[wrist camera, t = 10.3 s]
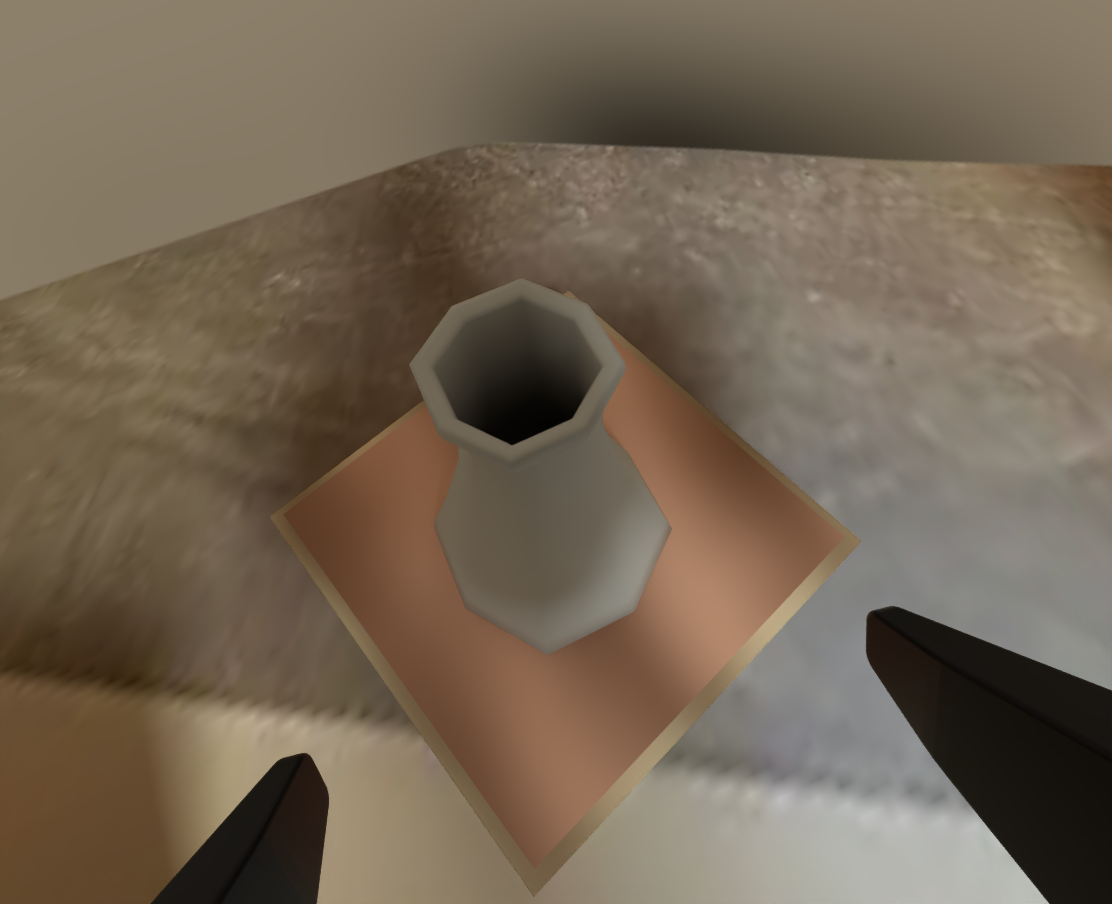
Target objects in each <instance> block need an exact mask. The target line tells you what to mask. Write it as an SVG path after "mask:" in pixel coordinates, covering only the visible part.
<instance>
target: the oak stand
mask: <svg viewBox="0 0 1112 904" xmlns="http://www.w3.org/2000/svg"><path fill="white" fill-rule="evenodd" d="M564 295H566V296H569V297H571V298H574V299H576V300H579V299H578V298H577V297H575V296H574V295H573V294H572V293H571V292H570V291H567V292H566V293H564ZM579 301H580V300H579ZM594 314H595V313H594ZM595 315H596V314H595ZM596 317H597V319H598V320H599V322H600V323H601V325H602V327H603V328H604V330H605V331H606V333H607V335H608V336H609V338H610V340H611V341H612V343H613V344H614V346H615V348H616V349H617V351H618V352H619V354H620V356H621V357H622V359H623V360H624V362H625V373H624V375H623V376H622V378H621V380H620V382H619V384H618V385H617V387H616V389H615V391H614V393H613V394H612V396H611V398H610V400H609V402H608V404H607V405H606V407H605V409H604V411H603V425H604V428H605V431H606V432H607V433H608V434H609V436H610V437H612V438H613V439H614V440H615V441H616V442H617V443H618V444H619V445H621V446H622V447H623V448H624V449H625V450H626V451H627V452H628V454H629V455H630V457H631V458H632V460H633V462H634V463H635V465H636V467H637V469H638V470H639V472H640V474H641V476H642V477H643V479H644V481H645V483H646V484H647V486H648V488H649V490H650V491H651V493H652V495H653V496H654V498H655V500H656V502H657V503H658V505H659V507H660V509H661V510H662V512H663V514H664V516H665V517H666V519H667V521H668V523H669V524H670V526H671V528H672V530H671V533H670V535H669V537H668V539H667V541H666V543H665V546H664V548H663V550H662V552H661V554H660V557H659V559H658V561H657V563H656V565H655V567H654V570H653V572H652V574H651V576H650V578H649V581H648V583H647V585H646V587H645V589H644V591H643V594H642V596H641V598H640V600H639V602H638V605H637V607H636V609H635V611H634V612H633V613H631V614H629V615H627V616H625V617H623V618H621V619H619V620H617V621H615V622H613V623H611V624H609V625H607V626H605V627H603V628H601V629H599V630H597V631H595V632H593V633H591V634H589V635H587V636H585V637H583V638H581V639H579V640H577V641H575V642H573V643H571V644H569V645H567V646H565V647H563V648H561V649H559V650H557V651H555V652H553V653H551V654H549V655H547V654H545V653H543V652H541V651H540V650H538V649H536V648H534V647H532V646H531V645H529V644H527V643H525V642H524V641H522V640H520V639H518V638H517V637H515V636H513V635H511V634H510V633H508V632H506V631H504V630H503V629H501V628H499V627H497V626H496V625H494V624H492V623H490V622H488V621H487V620H485V619H483V618H481V617H480V616H478V615H476V614H474V613H473V612H471V611H469V610H467V609H466V608H465V606H464V603H463V601H462V598H461V596H460V593H459V591H458V588H457V585H456V583H455V580H454V578H453V575H452V572H451V570H450V567H449V565H448V562H447V560H446V557H445V554H444V552H443V549H442V547H441V544H440V542H439V539H438V536H437V534H436V531H435V529H434V524H435V521H436V518H437V515H438V513H439V511H440V509H441V507H442V504H443V502H444V500H445V498H446V496H447V493H448V490H449V487H450V484H451V481H452V478H453V475H454V471H455V468H456V465H457V462H458V459H459V453H458V446H456V445H454V444H452V443H450V442H447V441H446V440H444V439H442V438H441V437H439V434H438V432H437V430H436V428H435V425H434V423H433V421H432V418H431V416H430V413H429V411H428V409H427V406H426V404H425V402H424V400H423V401H422V402H420V403H419V404H418V405H416V406H415V407H414V408H413V409H411V410H410V411H409V412H407V413H406V414H405V415H403V416H402V417H401V418H399V419H398V420H397V421H395V422H394V423H393V424H391V425H390V426H389V427H387V428H386V429H385V430H383V431H382V432H381V433H379V434H378V435H377V436H376V437H374V438H373V439H372V440H370V441H369V442H368V443H366V444H365V445H364V446H362V447H361V448H360V449H358V450H357V451H356V452H354V453H353V454H352V455H350V456H349V457H348V458H346V459H345V460H344V461H343V462H341V463H340V464H339V465H337V466H336V467H335V468H333V469H332V470H331V471H329V472H328V473H327V474H325V475H324V476H323V477H321V478H320V479H319V480H317V481H316V482H315V483H313V484H312V485H311V486H309V487H308V488H307V489H306V490H304V491H303V492H302V493H300V494H299V495H298V496H296V497H295V498H294V499H292V500H291V501H290V502H288V503H287V504H286V505H284V506H283V507H282V508H280V509H279V510H278V511H276V512H275V513H274V514H272V515H271V516H270V518H271V520H272V521H273V523H274V524H275V525H276V527H277V528H278V530H279V531H280V533H281V534H282V535H283V537H284V538H285V540H286V541H287V543H288V544H289V546H290V547H291V548H292V550H293V551H294V553H295V554H296V556H297V557H298V559H299V560H300V561H301V563H302V564H303V566H304V567H305V569H306V570H307V571H308V573H309V574H310V576H311V577H312V579H313V580H314V582H315V583H316V584H317V586H318V587H319V589H320V590H321V592H322V593H323V594H324V596H325V597H326V599H327V600H328V602H329V603H330V605H331V606H332V607H333V609H334V610H335V612H336V613H337V615H338V616H339V617H340V619H341V620H342V622H343V623H344V625H345V626H346V628H347V629H348V630H349V632H350V633H351V635H352V636H353V638H354V639H355V641H356V642H357V643H358V645H359V646H360V648H361V649H362V651H363V652H364V653H365V655H366V656H367V658H368V659H369V661H370V662H371V664H372V665H373V666H374V668H375V669H376V671H377V672H378V674H379V675H380V676H381V678H382V679H383V681H384V682H385V684H386V685H387V687H388V688H389V689H390V691H391V692H392V694H393V695H394V697H395V698H396V699H397V701H398V702H399V704H400V705H401V707H402V708H403V710H404V711H405V712H406V714H407V715H408V717H409V718H410V720H411V721H412V722H413V724H414V725H415V727H416V728H417V730H418V731H419V733H420V734H421V735H422V737H423V738H424V740H425V741H426V743H427V744H428V746H429V747H430V748H431V750H432V751H433V753H434V754H435V756H436V757H437V758H438V760H439V761H440V763H441V764H442V766H443V767H444V769H445V770H446V771H447V773H448V774H449V776H450V777H451V779H452V780H453V781H454V783H455V784H456V786H457V787H458V789H459V790H460V792H461V793H462V794H463V796H464V797H465V799H466V800H467V802H468V803H469V804H470V806H471V807H472V809H473V810H474V812H475V813H476V815H477V816H478V817H479V819H480V820H481V822H482V823H483V825H484V826H485V828H486V829H487V830H488V832H489V833H490V835H491V836H492V838H493V839H494V840H495V842H496V843H497V845H498V846H499V848H500V849H501V851H502V852H503V853H504V855H505V856H506V858H507V859H508V861H509V862H510V863H511V865H512V866H513V868H514V869H515V871H516V872H517V874H518V875H519V876H520V878H521V879H522V881H523V882H524V884H525V885H526V886H527V888H528V889H529V891H530V892H531V894H532V895H533V897H534V896H535V895H536V894H537V893H538V892H539V890H540V889H541V888H542V887H543V886H544V885H545V884H546V883H547V882H548V881H549V880H550V879H551V877H552V876H553V875H554V874H555V873H556V872H557V871H558V870H559V869H560V868H561V867H562V866H563V864H564V863H565V862H566V861H567V860H568V859H569V858H570V857H571V856H572V855H573V854H574V853H575V851H576V850H577V849H578V848H579V847H580V846H581V845H582V844H583V843H584V842H585V841H586V840H587V838H588V837H589V836H590V835H591V834H592V833H593V832H594V831H595V830H596V829H597V828H598V827H599V825H600V824H601V823H602V822H603V821H604V820H605V819H606V818H607V817H608V816H609V815H610V814H611V812H612V811H613V810H614V809H615V808H616V807H617V806H618V805H619V804H620V803H621V802H622V800H623V799H624V798H625V797H626V796H627V795H628V794H629V793H630V792H631V791H632V790H633V789H634V787H635V786H636V785H637V784H638V783H639V782H640V781H641V780H642V779H643V778H644V777H645V776H646V774H647V773H648V772H649V771H650V770H651V769H652V768H653V767H654V766H655V765H656V764H657V763H658V761H659V760H660V759H661V758H662V757H663V756H664V755H665V754H666V753H667V752H668V751H669V750H670V748H671V747H672V746H673V745H674V744H675V743H676V742H677V741H678V740H679V739H680V738H681V737H682V735H683V734H684V733H685V732H686V731H687V730H688V729H689V728H690V727H691V726H692V725H693V724H694V722H695V721H696V720H697V719H698V718H699V717H700V716H701V715H702V714H703V713H704V712H705V710H706V709H707V708H708V707H709V706H710V705H711V704H712V703H713V702H714V701H715V700H716V699H717V697H718V696H719V695H720V694H721V693H722V692H723V691H724V690H725V689H726V688H727V687H728V686H729V684H730V683H731V682H732V681H733V680H734V679H735V678H736V677H737V676H738V675H739V674H740V673H741V671H742V670H743V669H744V668H745V667H746V666H747V665H748V664H749V663H750V662H751V661H752V660H753V658H754V657H755V656H756V655H757V654H758V653H759V652H760V651H761V650H762V649H763V648H764V647H765V645H766V644H767V643H768V642H769V641H770V640H771V639H772V638H773V637H774V636H775V635H776V634H777V632H778V631H779V630H780V629H781V628H782V627H783V626H784V625H785V624H786V623H787V622H788V620H789V619H790V618H791V617H792V616H793V615H794V614H795V613H796V612H797V611H798V610H799V609H800V607H801V606H802V605H803V604H804V603H805V602H806V601H807V600H808V599H809V598H810V597H811V596H812V594H813V593H814V592H815V591H816V590H817V589H818V588H819V587H820V586H821V585H822V584H823V583H824V581H825V580H826V579H827V578H828V577H829V576H830V575H831V574H832V573H833V572H834V571H835V570H836V568H837V567H838V566H839V565H840V564H841V563H842V562H843V561H844V560H845V559H846V558H847V557H848V555H849V554H850V553H851V552H852V551H853V550H854V549H855V548H856V547H857V546H858V545H859V544H860V542H861V540H860V539H859V538H858V537H856V536H855V535H854V534H853V533H852V532H850V531H849V530H848V529H847V528H846V527H845V526H843V525H842V524H841V523H840V522H839V521H838V520H836V519H835V518H834V517H833V516H832V515H831V514H829V513H828V512H827V511H826V510H825V509H824V508H822V507H821V506H820V505H819V504H818V503H817V502H815V501H814V500H813V499H812V498H811V497H810V496H808V495H807V494H806V493H805V492H804V491H803V490H801V489H800V488H799V487H798V486H797V485H795V484H794V483H793V482H792V481H791V480H790V479H788V478H787V477H786V476H785V475H784V474H783V473H781V472H780V471H779V470H778V469H777V468H776V467H774V466H773V465H772V464H771V463H770V462H769V461H767V460H766V459H765V458H764V457H763V456H762V455H760V454H759V453H758V452H757V451H756V450H755V449H753V448H752V447H751V446H750V445H749V444H747V443H746V442H745V441H744V440H743V439H742V438H740V437H739V436H738V435H737V434H736V433H735V432H733V431H732V430H731V429H730V428H729V427H728V426H726V425H725V424H724V423H723V422H722V421H721V420H719V419H718V418H717V417H716V416H715V415H714V414H712V413H711V412H710V411H709V410H708V409H707V408H705V407H704V406H703V405H702V404H701V403H699V402H698V401H697V400H696V399H695V398H694V397H692V396H691V395H690V394H689V393H688V392H687V391H685V390H684V389H683V388H682V387H681V386H680V385H678V384H677V383H676V382H675V381H674V380H673V379H671V378H670V377H669V376H668V375H667V374H666V373H664V372H663V371H662V370H661V369H660V368H659V367H657V366H656V365H655V364H654V363H653V362H652V361H650V360H649V359H648V358H647V357H646V356H644V355H643V354H642V353H641V352H640V351H639V350H637V349H636V348H635V347H634V346H633V345H632V344H630V343H629V342H628V341H627V340H626V339H625V338H623V337H622V336H621V335H620V334H619V333H618V332H616V331H615V330H614V329H613V328H612V327H611V326H609V325H608V324H607V323H606V322H605V321H604V320H602V319H601V318H600V317H599V316H598V315H596Z"/></svg>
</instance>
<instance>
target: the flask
mask: <svg viewBox="0 0 1112 904" xmlns="http://www.w3.org/2000/svg"><path fill="white" fill-rule="evenodd" d="M409 366H410V368H411V371H412V373H413V375H414V378H415V380H416V383H417V385H418V387H419V390H420V392H421V394H422V397H423V399H424V402H425V404H426V406H427V409H428V411H429V413H430V416H431V418H432V421H433V423H434V425H435V428H436V430H437V432H438V434H439V437H441V438H442V439H444V440H446V441H447V442H450V443H452V444H454V445H456V446H458V453H459V459H458V462H457V465H456V468H455V471H454V475H453V478H452V481H451V484H450V487H449V490H448V493H447V496H446V498H445V500H444V502H443V504H442V507H441V509H440V511H439V513H438V515H437V518H436V521H435V524H434V529H435V531H436V534H437V536H438V539H439V542H440V544H441V547H442V549H443V552H444V554H445V557H446V560H447V562H448V565H449V567H450V570H451V572H452V575H453V578H454V580H455V583H456V585H457V588H458V591H459V593H460V596H461V598H462V601H463V603H464V606H465V608H466V609H467V610H469V611H471V612H473V613H474V614H476V615H478V616H480V617H481V618H483V619H485V620H487V621H488V622H490V623H492V624H494V625H496V626H497V627H499V628H501V629H503V630H504V631H506V632H508V633H510V634H511V635H513V636H515V637H517V638H518V639H520V640H522V641H524V642H525V643H527V644H529V645H531V646H532V647H534V648H536V649H538V650H540V651H541V652H543V653H545V654H547V655H549V654H551V653H553V652H555V651H557V650H559V649H561V648H563V647H565V646H567V645H569V644H571V643H573V642H575V641H577V640H579V639H581V638H583V637H585V636H587V635H589V634H591V633H593V632H595V631H597V630H599V629H601V628H603V627H605V626H607V625H609V624H611V623H613V622H615V621H617V620H619V619H621V618H623V617H625V616H627V615H629V614H631V613H633V612H634V611H635V609H636V607H637V605H638V602H639V600H640V598H641V596H642V594H643V591H644V589H645V587H646V585H647V583H648V581H649V578H650V576H651V574H652V572H653V570H654V567H655V565H656V563H657V561H658V559H659V557H660V554H661V552H662V550H663V548H664V546H665V543H666V541H667V539H668V537H669V535H670V533H671V530H672V528H671V526H670V524H669V523H668V521H667V519H666V517H665V516H664V514H663V512H662V510H661V509H660V507H659V505H658V503H657V502H656V500H655V498H654V496H653V495H652V493H651V491H650V490H649V488H648V486H647V484H646V483H645V481H644V479H643V477H642V476H641V474H640V472H639V470H638V469H637V467H636V465H635V463H634V462H633V460H632V458H631V457H630V455H629V454H628V452H627V451H626V450H625V449H624V448H623V447H622V446H621V445H619V444H618V443H617V442H616V441H615V440H614V439H613V438H612V437H610V436H609V434H608V433H607V432H606V431H605V428H604V425H603V411H604V409H605V407H606V405H607V404H608V402H609V400H610V398H611V396H612V394H613V393H614V391H615V389H616V387H617V385H618V384H619V382H620V380H621V378H622V376H623V375H624V373H625V362H624V360H623V359H622V357H621V356H620V354H619V352H618V351H617V349H616V348H615V346H614V344H613V343H612V341H611V340H610V338H609V336H608V335H607V333H606V331H605V330H604V328H603V327H602V325H601V323H600V322H599V320H598V319H597V317H596V315H595V314H594V312H593V311H592V309H591V307H590V306H589V304H586V303H584V302H581V301H579V300H576V299H574V298H571V297H569V296H566V295H564V294H561V293H558V292H556V291H553V290H551V289H548V288H546V287H543V286H541V285H538V284H536V283H533V282H531V281H528V280H525V279H523V278H520V279H517V280H515V281H512V282H510V283H508V284H505V285H503V286H500V287H498V288H495V289H493V290H490V291H488V292H485V293H483V294H480V295H478V296H475V297H473V298H470V299H468V300H465V301H463V302H460V303H458V304H455V305H453V306H451V308H450V309H449V310H448V312H447V313H446V315H445V316H444V317H443V319H442V320H441V321H440V323H439V324H438V326H437V327H436V328H435V330H434V331H433V332H432V334H431V335H430V337H429V338H428V339H427V341H426V342H425V343H424V345H423V346H422V348H421V349H420V350H419V352H418V353H417V355H416V356H415V357H414V359H413V360H412V361H411V363H410V364H409Z"/></svg>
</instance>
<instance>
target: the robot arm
mask: <svg viewBox="0 0 1112 904" xmlns="http://www.w3.org/2000/svg"><path fill="white" fill-rule="evenodd" d="M866 654H867V658H868V661H869V663H870V665H871V667H872V668H873V670H874V671H875V673H876V674H877V676H878V677H879V679H880V680H881V682H882V683H883V685H884V686H885V688H886V689H887V691H888V692H889V694H890V695H891V697H892V698H893V700H894V701H895V703H896V704H897V706H898V707H899V709H900V710H901V712H902V713H903V715H904V716H905V718H906V719H907V721H908V722H909V724H910V725H911V727H912V728H913V730H914V731H915V733H916V734H917V736H918V737H919V739H920V740H921V742H922V743H923V745H924V746H925V748H926V749H927V751H928V752H929V753H930V755H931V756H932V758H933V759H934V760H935V762H936V763H937V764H938V765H939V767H940V768H941V769H942V771H943V772H944V773H945V775H946V776H947V777H948V778H949V780H950V781H951V782H952V783H953V785H954V786H955V787H956V788H957V789H958V791H959V792H960V793H961V794H962V796H963V797H964V798H965V799H966V801H967V802H968V803H969V804H970V806H971V807H972V808H973V809H974V811H975V812H976V813H977V814H978V816H979V817H980V818H981V819H982V821H983V822H984V823H985V824H986V826H987V827H988V828H989V829H990V831H991V832H992V833H993V834H994V836H995V837H996V838H997V839H998V840H999V842H1000V843H1001V844H1002V845H1003V847H1004V848H1005V849H1006V850H1007V852H1008V853H1009V854H1010V855H1011V857H1012V858H1013V859H1014V860H1015V862H1016V863H1017V864H1018V865H1019V867H1020V868H1021V869H1022V870H1023V872H1024V873H1025V874H1026V875H1027V877H1028V878H1029V879H1030V880H1031V882H1032V883H1033V884H1034V885H1035V887H1036V888H1037V889H1038V890H1039V892H1040V893H1041V894H1042V895H1043V896H1044V898H1045V899H1046V900H1047V901H1048V903H1049V904H1112V690H1109V689H1107V688H1104V687H1101V686H1099V685H1096V684H1094V683H1091V682H1089V681H1086V680H1084V679H1081V678H1078V677H1076V676H1073V675H1071V674H1068V673H1066V672H1063V671H1061V670H1058V669H1055V668H1053V667H1050V666H1048V665H1045V664H1043V663H1040V662H1038V661H1035V660H1032V659H1030V658H1027V657H1025V656H1022V655H1020V654H1017V653H1015V652H1012V651H1009V650H1007V649H1004V648H1002V647H999V646H997V645H994V644H992V643H989V642H986V641H984V640H981V639H979V638H976V637H974V636H971V635H969V634H966V633H963V632H961V631H958V630H956V629H953V628H951V627H948V626H946V625H943V624H940V623H938V622H935V621H933V620H930V619H928V618H925V617H923V616H920V615H918V614H915V613H912V612H910V611H907V610H905V609H902V608H899V607H896V606H889V607H885V608H881V609H877V610H873V611H871V612H869V614H868V615H867V620H866ZM328 808H329V794H328V790H327V787H326V785H325V783H324V781H323V779H322V777H321V775H320V773H319V771H318V769H317V767H316V765H315V763H314V761H313V759H312V758H311V756H310V755H309V754H307V753H301V754H297V755H293V756H289V757H285V758H282V759H280V760H278V761H277V762H276V763H275V764H274V765H273V766H272V767H271V768H270V770H269V771H268V772H267V773H266V774H265V775H264V776H263V777H262V779H261V780H260V781H259V782H258V783H257V784H256V785H255V786H254V788H253V789H252V790H251V791H250V792H249V793H248V794H247V795H246V797H245V798H244V799H243V800H242V801H241V802H240V803H239V805H238V806H237V807H236V808H235V809H234V810H233V811H232V812H231V814H230V815H229V816H228V817H227V818H226V819H225V820H224V821H223V823H222V824H221V825H220V826H219V827H218V828H217V829H216V830H215V832H214V833H213V834H212V835H211V836H210V837H209V838H208V839H207V841H206V842H205V843H204V844H203V845H202V846H201V847H200V849H199V850H198V851H197V852H196V853H195V854H194V855H193V856H192V858H191V859H190V860H189V861H188V862H187V863H186V864H185V865H184V867H183V868H182V869H181V870H180V871H179V872H178V873H177V874H176V876H175V877H174V878H173V879H172V880H171V881H170V882H169V883H168V885H167V886H166V887H165V888H164V889H163V890H162V891H161V893H160V894H159V895H158V896H157V897H156V898H155V899H154V900H153V902H152V903H151V904H317V898H318V890H319V882H320V873H321V865H322V857H323V849H324V841H325V833H326V825H327V816H328Z"/></svg>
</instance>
